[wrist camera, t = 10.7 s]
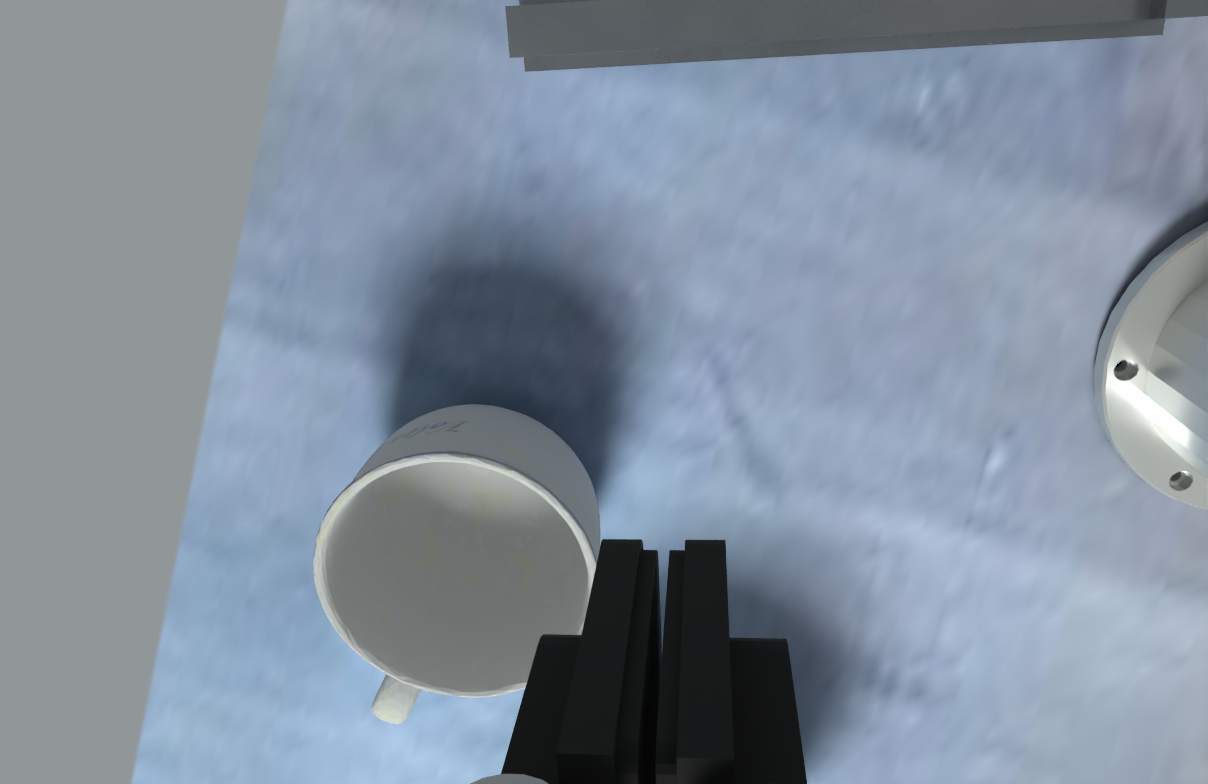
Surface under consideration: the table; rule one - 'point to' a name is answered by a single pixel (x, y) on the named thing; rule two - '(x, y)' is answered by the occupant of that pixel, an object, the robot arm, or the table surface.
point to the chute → (807, 27)
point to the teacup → (459, 554)
